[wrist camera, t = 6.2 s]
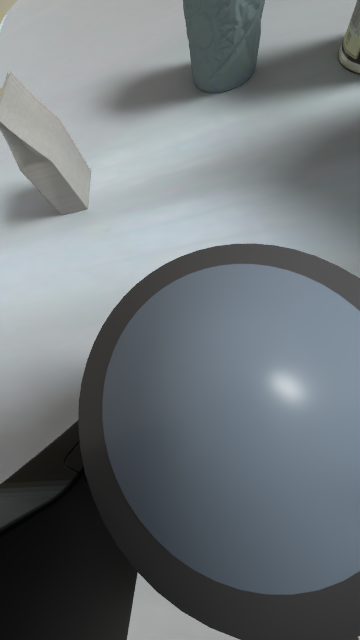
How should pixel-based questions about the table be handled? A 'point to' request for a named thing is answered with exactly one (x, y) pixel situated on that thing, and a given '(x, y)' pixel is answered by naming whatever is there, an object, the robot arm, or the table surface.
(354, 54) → the coffee can
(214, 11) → the grey green cup
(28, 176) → the white red printed carton
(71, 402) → the table surface
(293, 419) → the flashlight
